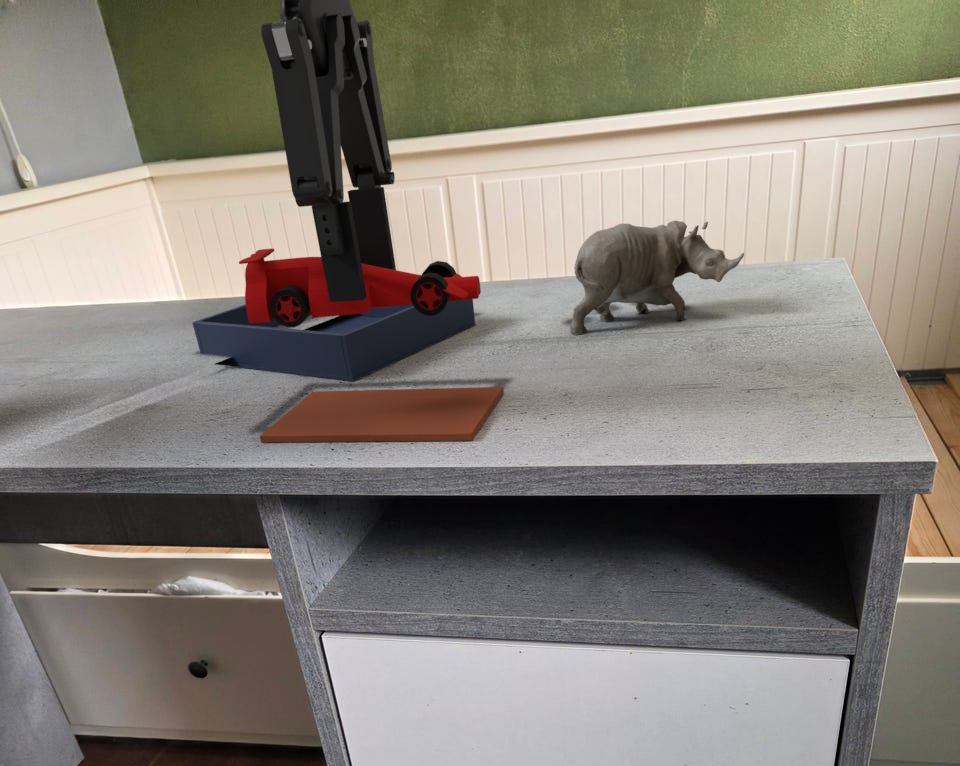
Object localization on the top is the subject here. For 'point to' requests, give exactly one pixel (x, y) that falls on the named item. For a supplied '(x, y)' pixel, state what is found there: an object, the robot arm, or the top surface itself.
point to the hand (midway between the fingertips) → (364, 288)
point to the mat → (386, 415)
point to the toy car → (303, 290)
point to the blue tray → (330, 340)
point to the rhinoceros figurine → (642, 268)
